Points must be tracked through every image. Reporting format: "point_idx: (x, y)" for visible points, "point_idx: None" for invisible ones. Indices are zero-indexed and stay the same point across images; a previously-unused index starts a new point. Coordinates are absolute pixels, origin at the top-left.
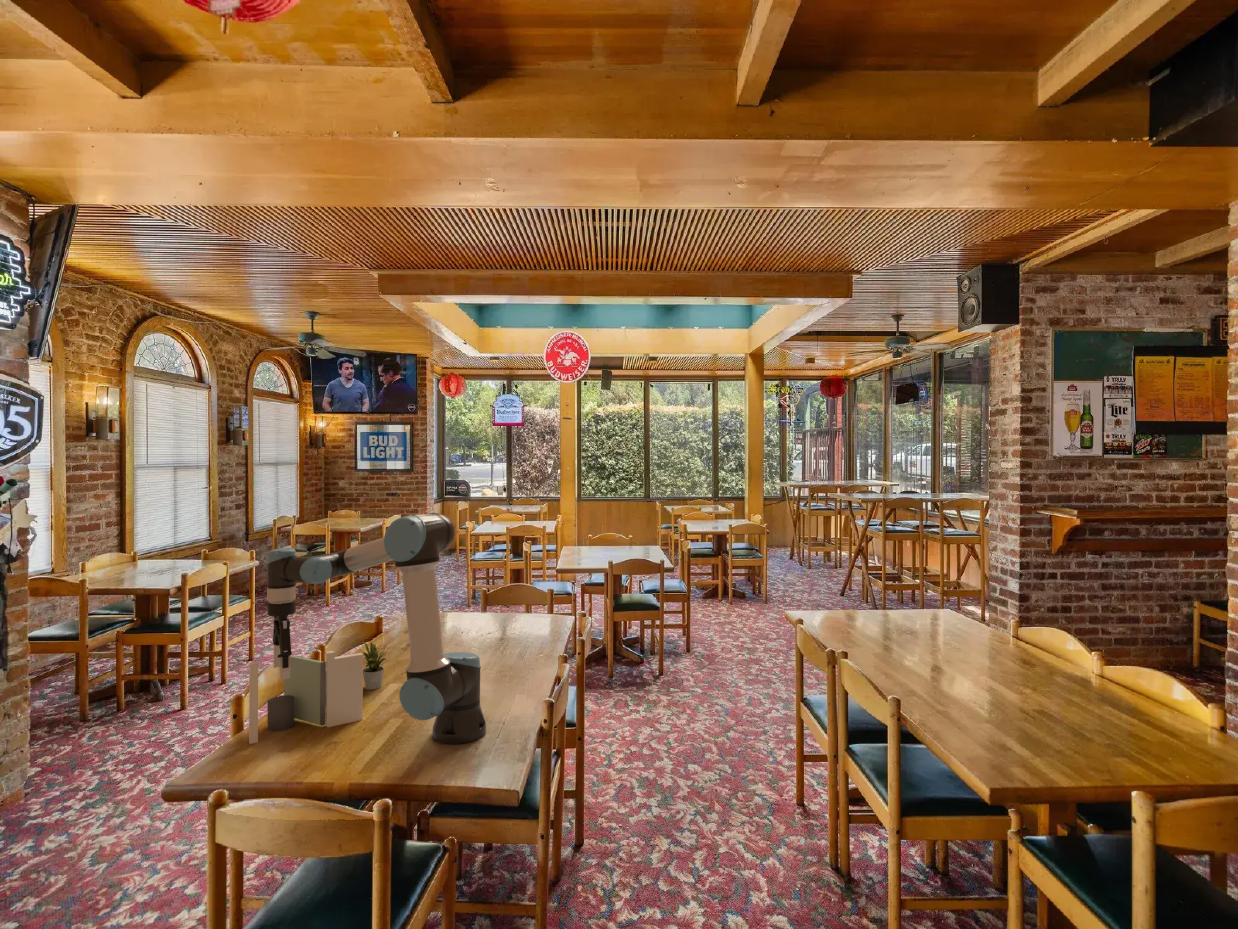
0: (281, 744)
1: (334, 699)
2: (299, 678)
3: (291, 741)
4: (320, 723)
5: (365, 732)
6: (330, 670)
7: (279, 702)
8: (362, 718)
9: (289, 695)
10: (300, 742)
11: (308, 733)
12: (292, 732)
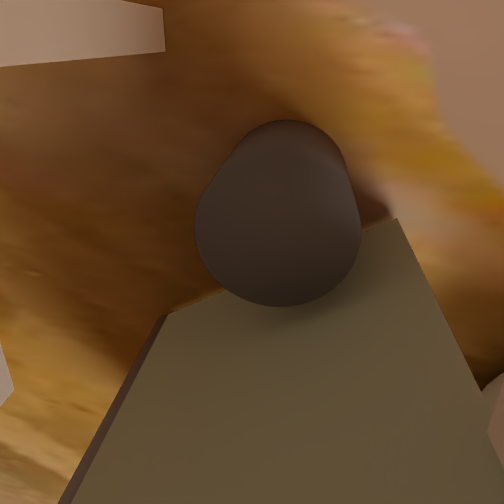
0: (58, 147)
1: None
2: (269, 423)
3: (74, 188)
4: (161, 319)
5: (50, 403)
6: None
7: (221, 219)
8: None
9: (322, 293)
10: (48, 216)
11: (132, 261)
12: (177, 211)
